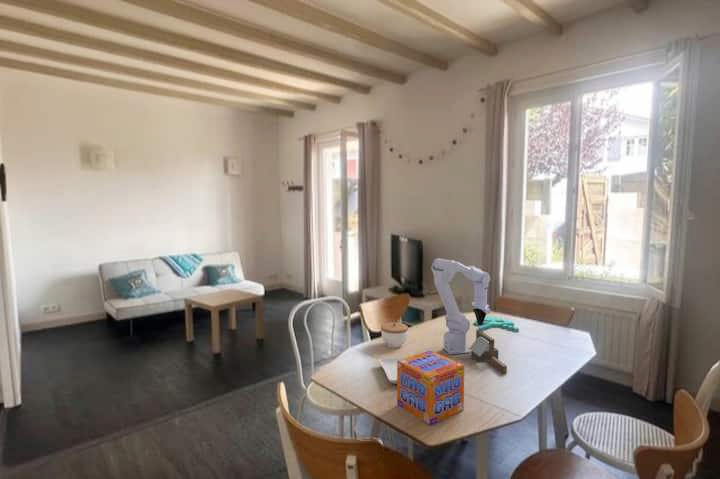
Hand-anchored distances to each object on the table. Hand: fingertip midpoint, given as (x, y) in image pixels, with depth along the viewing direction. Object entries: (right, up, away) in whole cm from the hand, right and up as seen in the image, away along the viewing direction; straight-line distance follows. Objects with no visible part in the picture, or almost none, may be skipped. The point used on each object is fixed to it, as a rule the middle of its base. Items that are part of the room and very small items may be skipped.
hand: (480, 324), depth 188 cm
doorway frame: (-2, -11, -21) cm, 24 cm away
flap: (-8, -9, -17) cm, 20 cm away
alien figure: (+16, -7, +28) cm, 33 cm away
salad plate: (-38, -14, -31) cm, 51 cm away
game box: (-34, -16, -57) cm, 68 cm away
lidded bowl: (-41, -10, 0) cm, 42 cm away
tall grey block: (-3, -11, -16) cm, 20 cm away
